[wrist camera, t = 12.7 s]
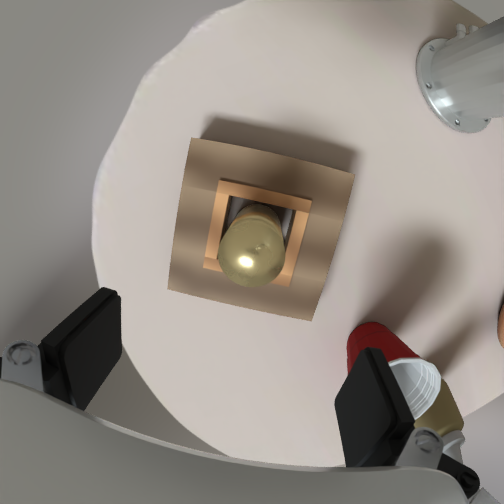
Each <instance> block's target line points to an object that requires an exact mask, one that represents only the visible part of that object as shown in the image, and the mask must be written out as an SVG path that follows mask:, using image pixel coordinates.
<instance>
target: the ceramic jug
mask: <svg viewBox="0 0 504 504" xmlns="http://www.w3.org/2000/svg"><path fill="white" fill-rule="evenodd" d="M497 333H498V339H499V342H500V344H501V346H502V347H503V348H504V304H503V306H502V309H501V312H500V315H499V320H498V326H497Z"/></svg>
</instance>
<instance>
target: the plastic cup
mask: <svg viewBox="0 0 504 504" xmlns="http://www.w3.org/2000/svg"><path fill="white" fill-rule="evenodd" d="M366 347H373V348H380V349H381V350H382V352H383V354H384V356H385V358H386V360H387V362H388V364H389V366H390V368H391V370H392V372H393V374H394V376H395V378H396V380H397V382H398V384H399V386H400V389H401V391H402V393H403V395H404V397H405V399H406V401H407V404H408V406H409V408H410V410H411V412H412V415H413V417H414V419H415V420H416V419H417V418H419V417H420V416H421V415H422V414H423V413H424V412H425V411H426V410H427V409H428V408H429V407H430V406H431V405H432V404H433V402H434V401H435V399H436V397H437V395H438V393H439V391H440V385H441V375H440V373H439V372H438V370H437V368H436V367H435V365H434V364H432V363H430V362H428V361H426V360H423V359H422V358H420V357H419V356H418V355H417V354H415V353H414V352H413V351H412V350H411V349H410V348H409V347H408V346H407V345H406V344H405V343H404V342H402V341H401V340H400V339H399V338H398V337H397V336H396V335H395V334H393V333H392V332H391V331H390V330H389V329H388V328H386V327H385V326H383V325H381V324H379V323H377V322H368V323H365V324H362V325H360V326H359V327H357V328H356V329H355V330H353V332H352V333H351V334H350V336H349V338H348V342H347V356H348V359H347V368H348V374H349V372H350V370H351V368H352V366H353V364H354V362H355V360H356V358H357V356H358V354H359V352H360V351H361V350H364V349H365V348H366Z"/></svg>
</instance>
